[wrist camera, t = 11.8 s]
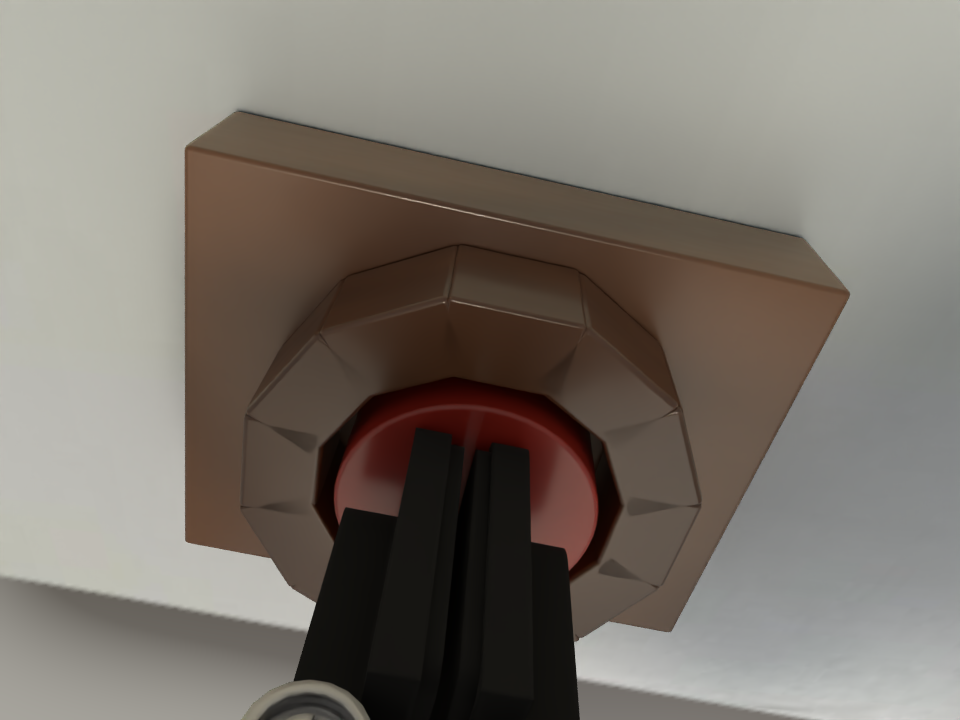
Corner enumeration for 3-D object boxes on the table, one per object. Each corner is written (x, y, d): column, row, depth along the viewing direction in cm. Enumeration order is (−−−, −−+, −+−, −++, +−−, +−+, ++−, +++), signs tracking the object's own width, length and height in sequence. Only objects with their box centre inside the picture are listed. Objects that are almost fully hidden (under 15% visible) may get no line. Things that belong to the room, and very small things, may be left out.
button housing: (806, 237, 13) (907, 354, 9) (655, 555, 17) (687, 716, 14) (235, 109, 12) (122, 185, 9) (222, 471, 16) (142, 619, 13)
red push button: (620, 370, 12) (635, 438, 10) (555, 547, 14) (559, 625, 12) (372, 318, 11) (348, 380, 10) (342, 506, 13) (320, 580, 12)
